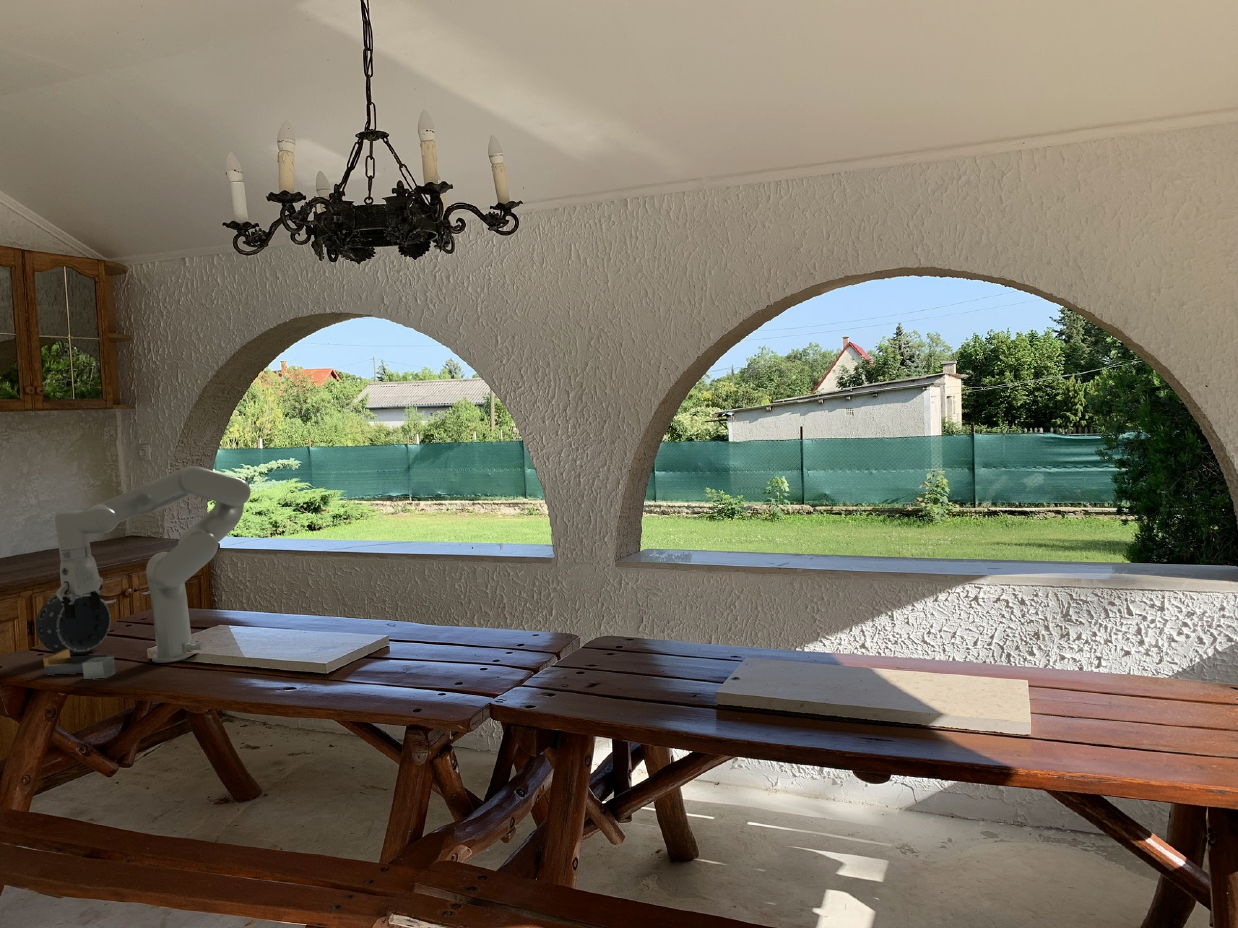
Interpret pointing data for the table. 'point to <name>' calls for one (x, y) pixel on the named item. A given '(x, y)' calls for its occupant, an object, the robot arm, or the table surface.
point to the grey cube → (99, 667)
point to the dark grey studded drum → (72, 626)
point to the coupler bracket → (66, 662)
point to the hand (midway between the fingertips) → (84, 613)
